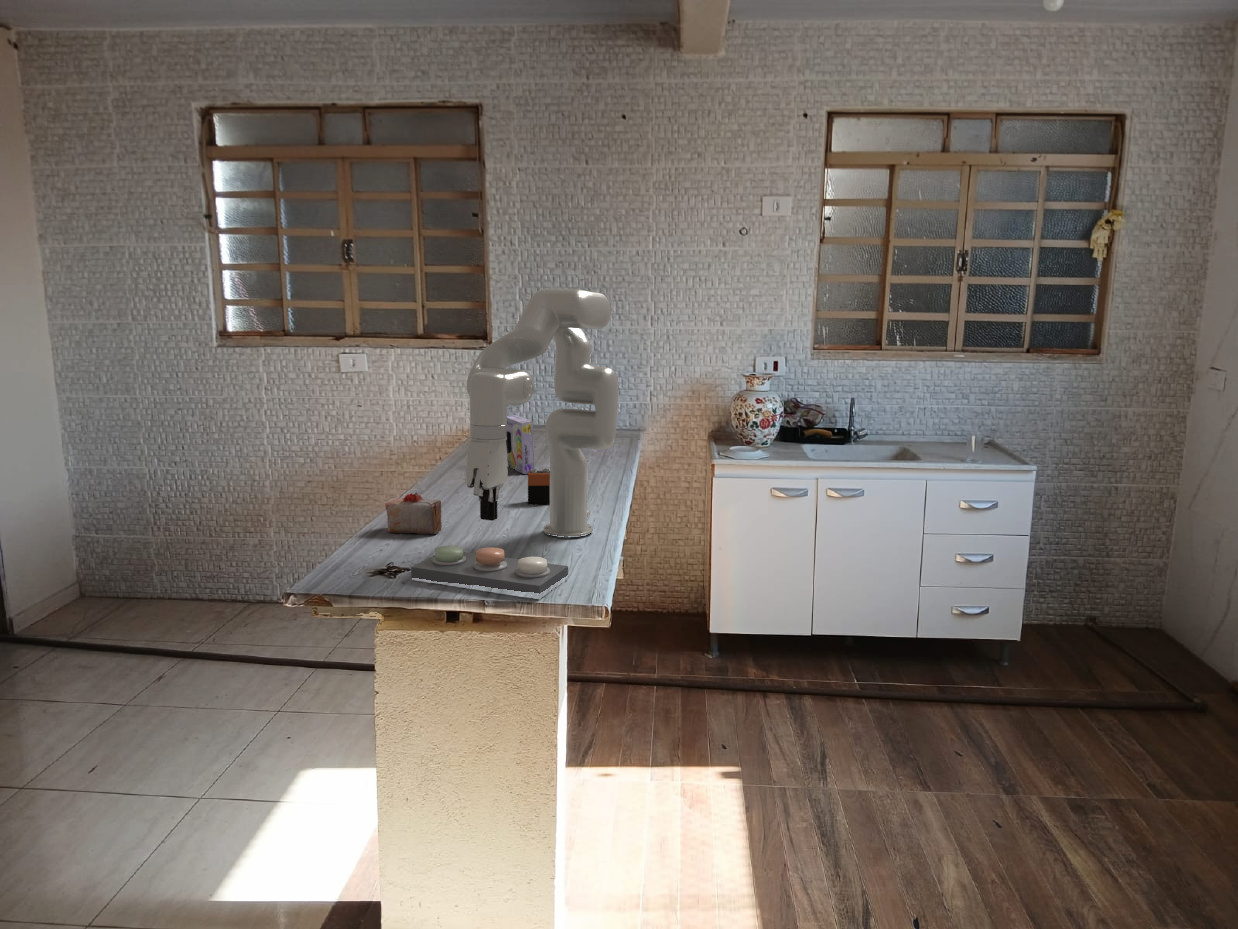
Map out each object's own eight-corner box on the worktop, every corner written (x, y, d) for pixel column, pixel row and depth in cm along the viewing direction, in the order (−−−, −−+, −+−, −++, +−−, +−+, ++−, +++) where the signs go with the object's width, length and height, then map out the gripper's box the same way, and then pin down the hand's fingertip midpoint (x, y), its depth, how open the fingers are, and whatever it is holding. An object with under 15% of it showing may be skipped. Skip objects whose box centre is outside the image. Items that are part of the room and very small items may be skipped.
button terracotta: (484, 554, 194) (484, 546, 193) (509, 557, 192) (509, 549, 191) (470, 562, 188) (470, 553, 188) (495, 565, 186) (495, 557, 186)
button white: (526, 563, 190) (526, 555, 190) (551, 567, 188) (551, 558, 188) (513, 571, 185) (513, 563, 185) (539, 575, 183) (539, 567, 182)
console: (446, 562, 202) (446, 547, 202) (568, 579, 192) (568, 563, 191) (411, 580, 190) (410, 564, 189) (539, 600, 179) (539, 583, 179)
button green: (444, 552, 197) (444, 544, 197) (468, 555, 195) (468, 547, 195) (429, 559, 192) (429, 551, 191) (453, 563, 190) (453, 555, 189)
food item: (382, 534, 224) (380, 495, 222) (394, 526, 232) (392, 488, 230) (434, 537, 222) (434, 498, 220) (445, 528, 230) (444, 491, 228)
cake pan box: (503, 464, 312) (502, 414, 308) (517, 463, 314) (516, 413, 310) (521, 475, 295) (521, 422, 291) (535, 474, 297) (535, 421, 293)
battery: (552, 504, 257) (552, 470, 255) (528, 505, 256) (528, 470, 254) (551, 501, 261) (551, 467, 259) (527, 501, 260) (527, 467, 258)
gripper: (489, 426, 193) (490, 509, 196) (453, 436, 179) (454, 525, 182) (521, 429, 190) (521, 513, 193) (486, 439, 176) (487, 529, 180)
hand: (488, 518), depth 188 cm, fingers closed
